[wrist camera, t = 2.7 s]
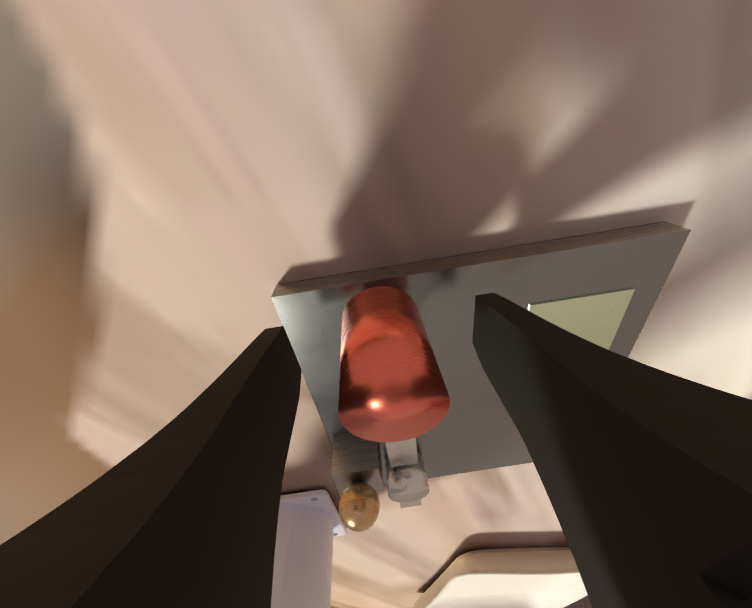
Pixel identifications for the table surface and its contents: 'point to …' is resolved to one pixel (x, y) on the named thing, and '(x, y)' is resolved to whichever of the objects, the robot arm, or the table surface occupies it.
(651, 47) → the table surface
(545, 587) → the salad plate
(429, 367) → the lever
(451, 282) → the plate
